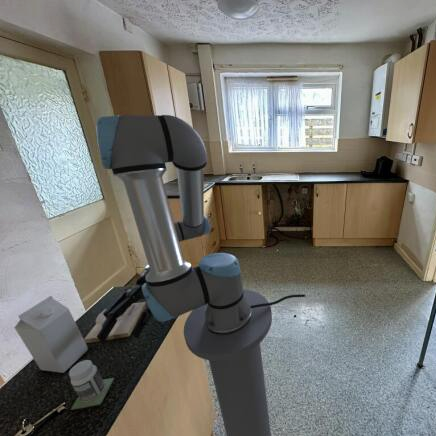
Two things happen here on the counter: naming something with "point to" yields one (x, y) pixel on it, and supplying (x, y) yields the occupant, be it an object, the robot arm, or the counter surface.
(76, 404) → the pad
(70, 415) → the counter surface
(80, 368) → the pill bottle
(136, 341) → the counter surface
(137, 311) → the board
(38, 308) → the milk carton
